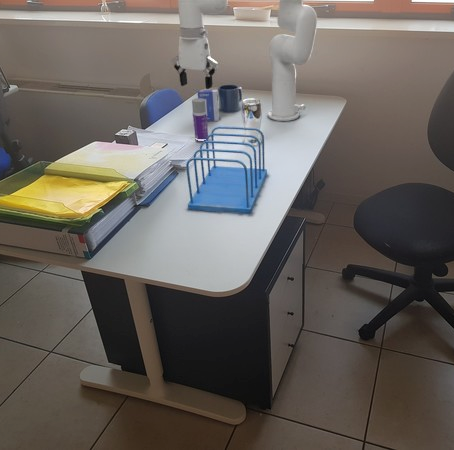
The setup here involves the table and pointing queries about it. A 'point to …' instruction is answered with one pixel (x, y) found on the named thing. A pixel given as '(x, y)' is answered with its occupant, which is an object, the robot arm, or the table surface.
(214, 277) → the table surface
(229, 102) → the coffee mug
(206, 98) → the blue white carton
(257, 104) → the beer glass
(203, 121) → the container
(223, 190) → the file sorter
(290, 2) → the robot arm
